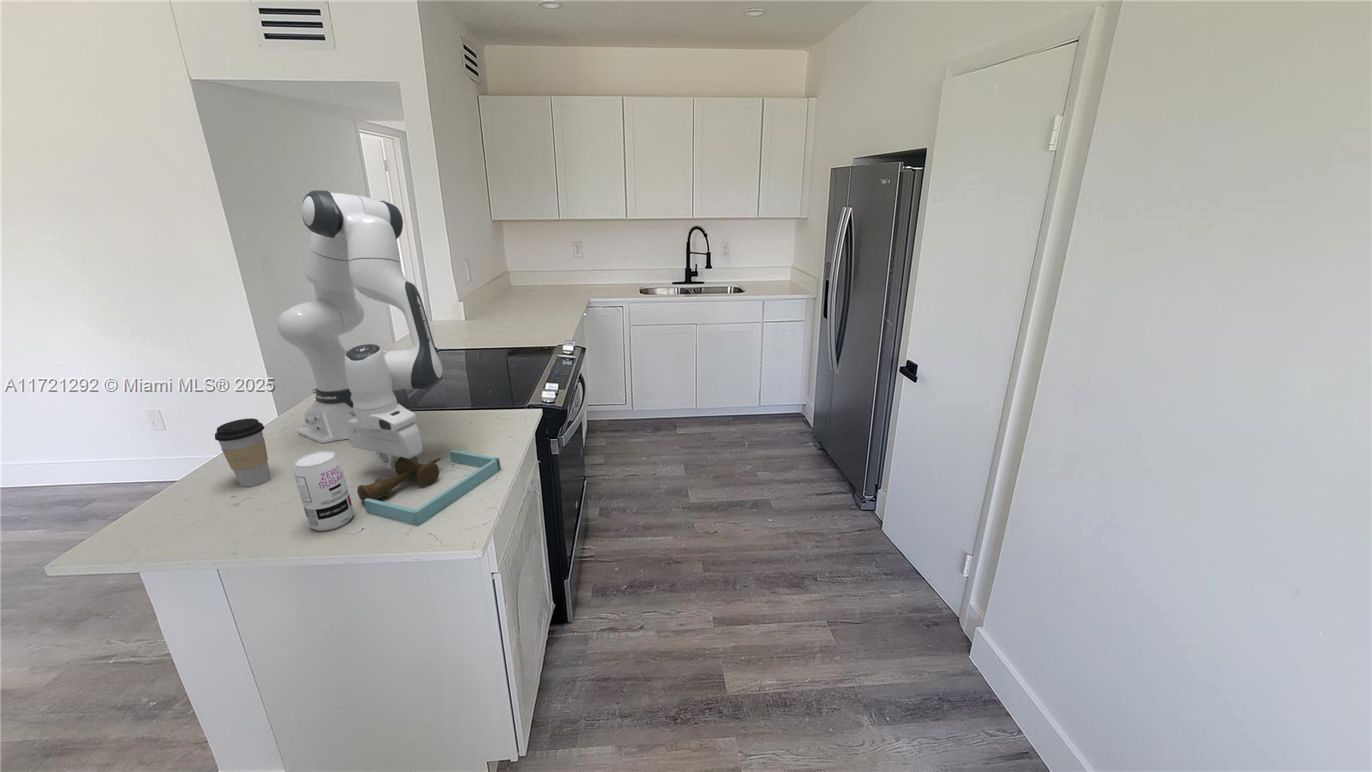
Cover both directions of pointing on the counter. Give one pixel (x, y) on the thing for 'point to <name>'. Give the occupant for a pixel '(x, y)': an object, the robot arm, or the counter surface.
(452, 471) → the counter surface
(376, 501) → the open rectangular frame
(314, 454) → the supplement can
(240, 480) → the coffee cup
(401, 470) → the kendama
